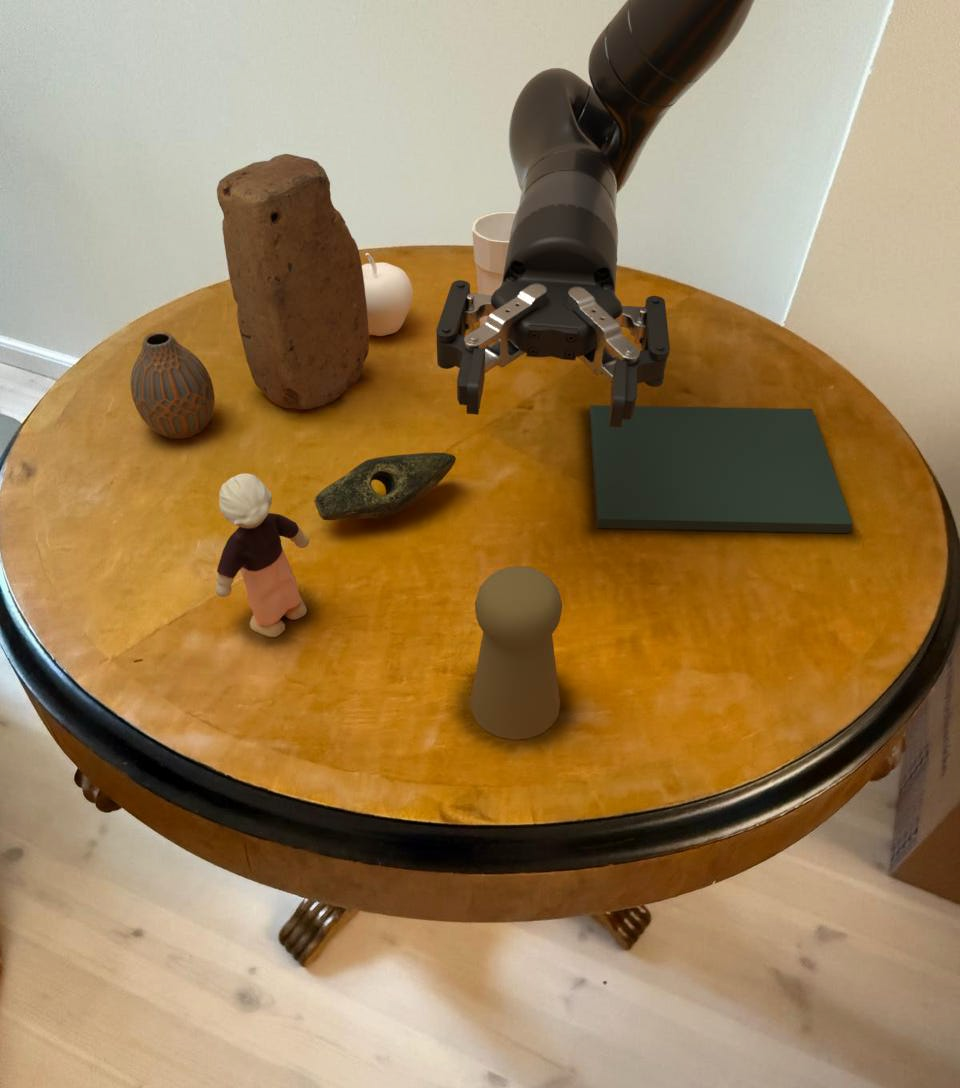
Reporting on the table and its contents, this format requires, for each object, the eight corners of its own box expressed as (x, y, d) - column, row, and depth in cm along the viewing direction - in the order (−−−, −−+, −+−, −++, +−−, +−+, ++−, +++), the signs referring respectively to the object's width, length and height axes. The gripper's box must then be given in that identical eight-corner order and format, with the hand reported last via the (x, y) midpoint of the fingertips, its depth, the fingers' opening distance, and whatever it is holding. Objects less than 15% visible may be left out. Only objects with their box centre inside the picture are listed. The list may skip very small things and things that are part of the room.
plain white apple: (335, 321, 97) (325, 245, 91) (397, 305, 99) (391, 230, 93) (362, 352, 93) (353, 275, 87) (426, 334, 95) (421, 258, 89)
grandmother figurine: (285, 579, 71) (254, 440, 61) (326, 596, 69) (301, 457, 60) (219, 644, 66) (174, 505, 57) (261, 664, 65) (222, 525, 55)
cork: (467, 738, 60) (464, 621, 52) (472, 668, 64) (470, 549, 56) (560, 741, 60) (571, 624, 52) (559, 670, 64) (570, 552, 56)
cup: (460, 331, 95) (457, 224, 87) (511, 312, 98) (513, 206, 90) (499, 358, 92) (500, 249, 84) (551, 337, 94) (557, 229, 86)
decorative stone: (391, 563, 72) (386, 513, 68) (311, 532, 74) (302, 482, 71) (462, 485, 78) (460, 435, 75) (386, 459, 81) (381, 409, 77)
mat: (809, 417, 84) (812, 408, 84) (849, 533, 74) (853, 523, 73) (589, 414, 85) (590, 404, 84) (597, 528, 74) (598, 518, 74)
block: (290, 425, 84) (248, 199, 70) (245, 391, 88) (196, 171, 73) (384, 380, 89) (363, 161, 75) (337, 350, 93) (309, 136, 78)
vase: (210, 397, 88) (187, 310, 81) (230, 436, 83) (208, 347, 77) (136, 416, 85) (107, 329, 79) (154, 457, 81) (124, 368, 75)
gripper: (459, 193, 61) (422, 346, 52) (676, 209, 60) (678, 367, 51) (460, 294, 67) (426, 447, 58) (656, 310, 66) (655, 467, 57)
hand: (544, 409), depth 54 cm, fingers open, 8 cm apart
